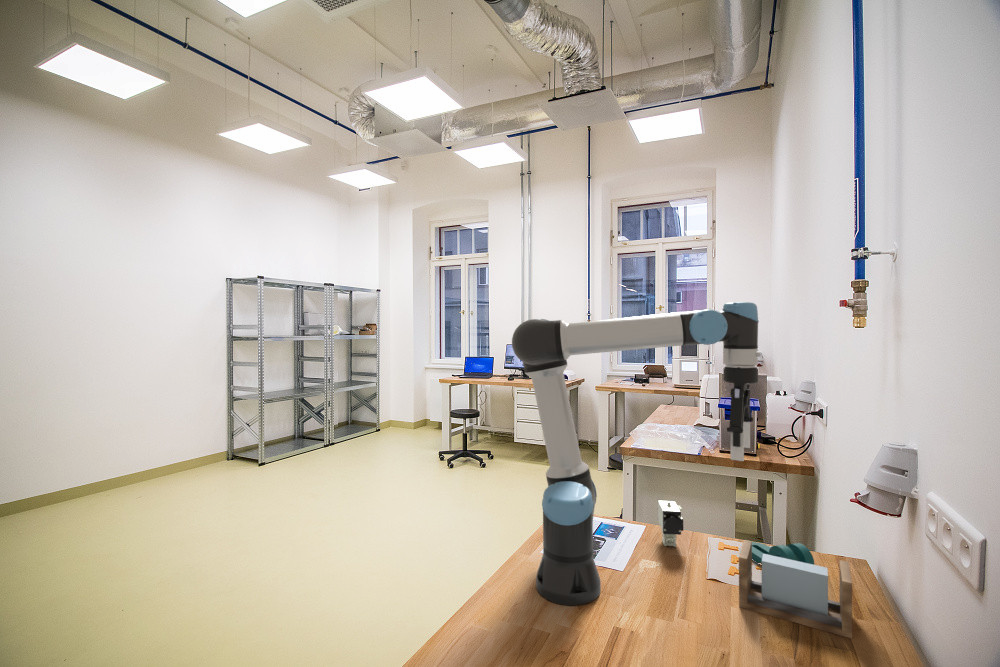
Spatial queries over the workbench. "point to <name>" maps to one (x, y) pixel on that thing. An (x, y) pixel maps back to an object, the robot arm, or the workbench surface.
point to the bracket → (782, 552)
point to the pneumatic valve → (669, 521)
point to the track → (833, 622)
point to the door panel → (795, 583)
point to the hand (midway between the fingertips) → (740, 453)
